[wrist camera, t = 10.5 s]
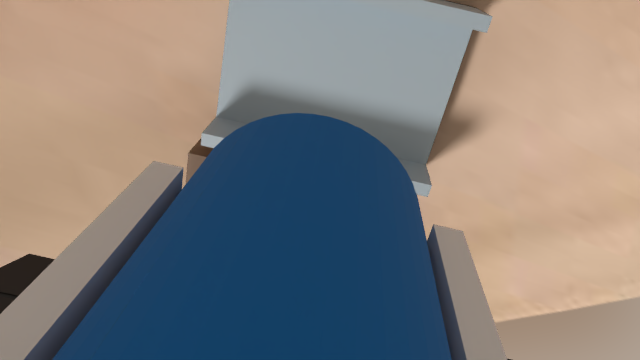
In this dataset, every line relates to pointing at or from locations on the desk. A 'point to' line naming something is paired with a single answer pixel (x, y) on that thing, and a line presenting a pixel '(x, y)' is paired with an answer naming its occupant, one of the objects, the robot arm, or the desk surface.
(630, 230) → the desk surface
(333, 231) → the beverage can
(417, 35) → the trough
